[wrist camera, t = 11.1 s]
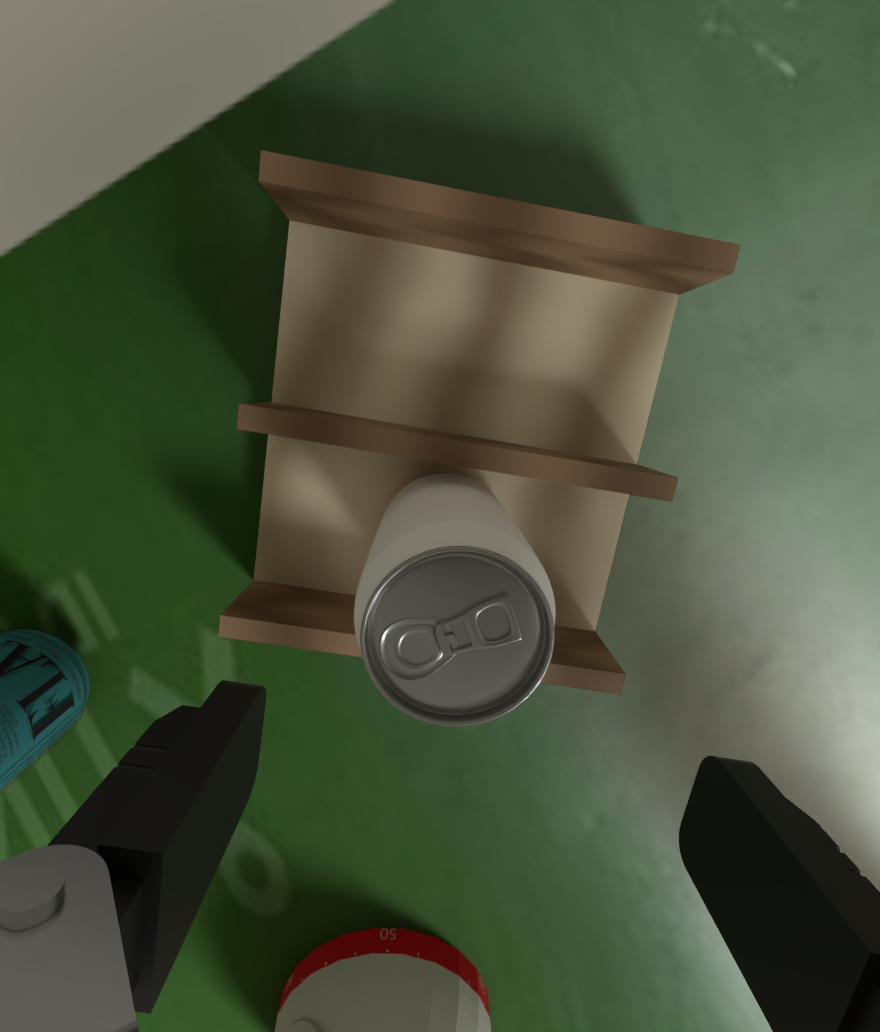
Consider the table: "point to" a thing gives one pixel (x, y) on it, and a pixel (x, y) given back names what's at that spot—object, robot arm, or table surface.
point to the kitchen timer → (384, 987)
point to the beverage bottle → (36, 696)
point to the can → (453, 605)
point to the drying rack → (456, 389)
